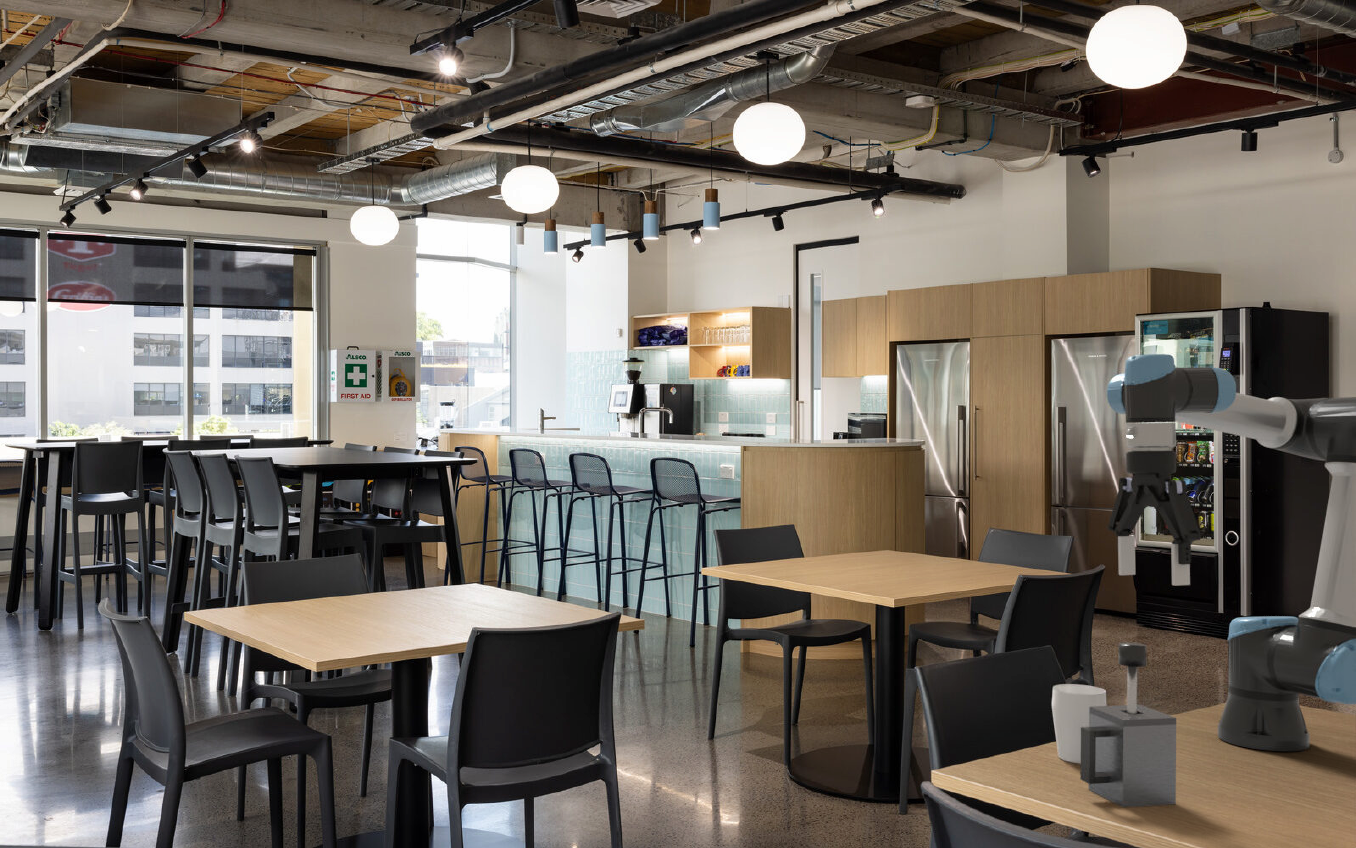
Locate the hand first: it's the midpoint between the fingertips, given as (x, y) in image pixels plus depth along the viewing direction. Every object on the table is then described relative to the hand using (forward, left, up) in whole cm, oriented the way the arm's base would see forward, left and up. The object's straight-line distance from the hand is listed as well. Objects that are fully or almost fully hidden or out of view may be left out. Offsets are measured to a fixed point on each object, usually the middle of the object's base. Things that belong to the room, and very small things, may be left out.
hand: (1153, 580), depth 187 cm
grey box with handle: (+11, +8, -32) cm, 35 cm away
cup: (+5, -13, -33) cm, 36 cm away
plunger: (+9, +8, -29) cm, 32 cm away
